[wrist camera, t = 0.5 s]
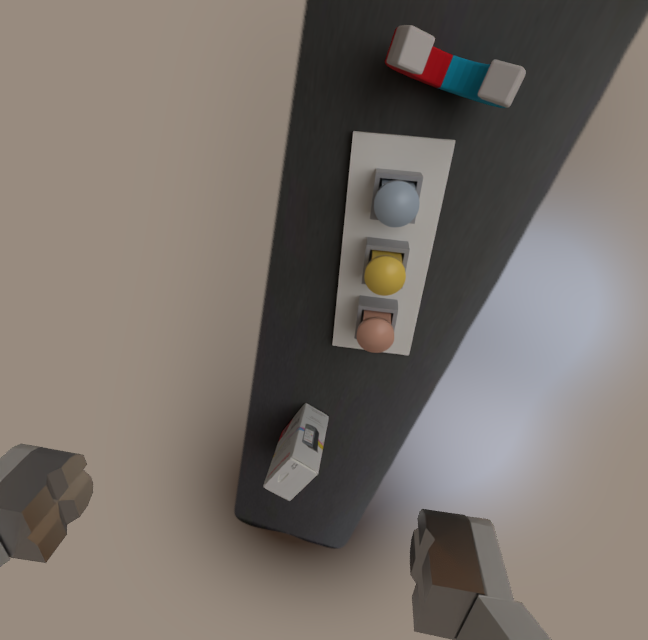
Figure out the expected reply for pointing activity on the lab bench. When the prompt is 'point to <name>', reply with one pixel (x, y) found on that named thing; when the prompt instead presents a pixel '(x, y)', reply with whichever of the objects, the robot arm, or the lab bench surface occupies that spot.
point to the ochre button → (385, 272)
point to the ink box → (297, 453)
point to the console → (388, 230)
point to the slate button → (396, 202)
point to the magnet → (452, 69)
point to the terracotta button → (375, 331)
